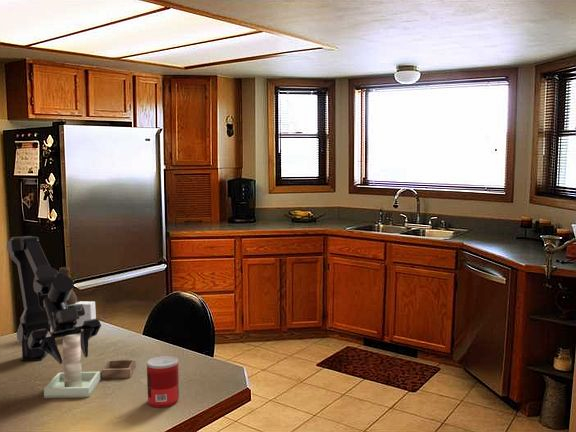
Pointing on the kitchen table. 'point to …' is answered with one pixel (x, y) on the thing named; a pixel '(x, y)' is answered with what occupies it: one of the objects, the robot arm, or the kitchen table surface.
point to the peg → (72, 361)
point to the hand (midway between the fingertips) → (74, 359)
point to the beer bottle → (72, 297)
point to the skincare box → (86, 312)
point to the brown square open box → (119, 368)
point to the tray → (60, 391)
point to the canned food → (162, 381)
